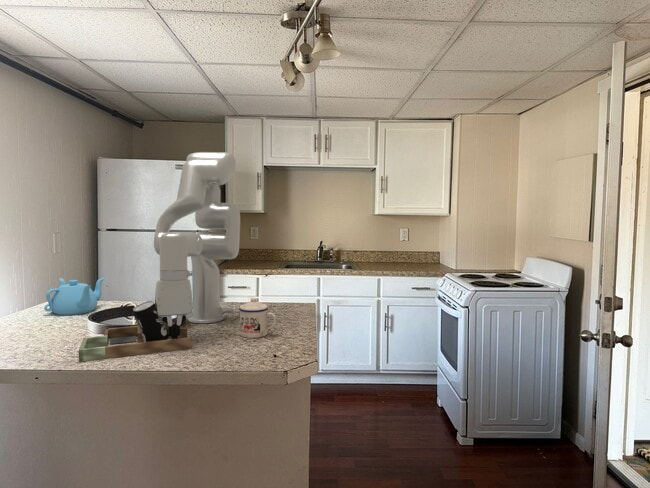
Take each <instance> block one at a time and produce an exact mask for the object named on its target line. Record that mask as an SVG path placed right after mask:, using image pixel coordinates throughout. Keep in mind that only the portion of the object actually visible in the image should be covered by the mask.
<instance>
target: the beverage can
mask: <svg viewBox="0 0 650 488" xmlns="http://www.w3.org/2000/svg"><path fill="white" fill-rule="evenodd" d="M132 310H133V318H134V319H135V323H136V326H138V327H139V330H140V332H141V335H142V337H143V339H144V342H151V341H160V340H169V339H168V337H169V334H168V332H167V329H166V327H165V324H164V323H165V322H164V321H163V320H162V317H161V316H159V315H158V312H157V308H156V304H155V300H148V301H145V302H142V303H139V304H138V305H135V306H134V307H133V309H132Z"/></svg>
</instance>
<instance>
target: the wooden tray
mask: <svg viewBox="0 0 650 488" xmlns="http://www.w3.org/2000/svg"><path fill="white" fill-rule="evenodd" d="M175 322H176V321H174V322H173V325H174V324H175ZM164 324H165V327H166V329H167V332H168V334H169V326H168V325H167V324H166V323H165V322H164ZM192 348H193V338H192V336H190V337H189V336H188V327H180V336H178V339H171V336H170V337H168V340H160V341H151V342H144V339H143V337H142V335H141V332H140V330H139V327H138V325H133V326H122V327H112V328H104V332H103V335H99V336H90V337H89V336H88V337H83V338H82V340H81V344H80V347H79V349H78V363H79V362H80V363H81V362H89V361H97V360H105V359H106V360H107V359H115V358H121V357H131V356H132V357H133V356H139V355H148V354H155V353H164V352H172V351H173V352H174V351H180V350H189V349H192Z"/></svg>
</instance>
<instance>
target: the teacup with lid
mask: <svg viewBox="0 0 650 488" xmlns="http://www.w3.org/2000/svg"><path fill="white" fill-rule="evenodd" d="M238 309H239V334H240V336H241V337H243V338H247V339H257V338H262V337H265V336H266V335H268V329H272V328H273V327H274V326H275V325H276V323H277V316H276V315H275V313H273V312H268V310H269V306H268V305H267V304H266V303H262V302H261V301H258V299H257V298H256V297H251V298H250V301H247V302H246V303H244V304H241V305H240V306H239V308H238ZM268 316H271V317H272V319H273V322H272V324H271V325H268Z"/></svg>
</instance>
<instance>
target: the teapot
mask: <svg viewBox="0 0 650 488" xmlns="http://www.w3.org/2000/svg"><path fill="white" fill-rule="evenodd" d="M105 278H106V277H101V278H99V279H97V281H96V283H95V287H94V290H92V288H91V286H92V285H89V284H87V283H79V280H78V279H71V280H68V283H67V284H66V281H65V279H64V278H63V277H59V278H58V280H59V287H56V288H55V287H54V288H51V289H48V290H47V292H46V294H45V298H46V301H47V304H45V306H44V308H43V309H44V311H45V312H52V313H53V314H55V315H57V316H75V315H77V316H78V315H82V314H86V313H87V314H88V313H91V312H93V311H94V310H95V309H96V308H97V306H98V301H99V300H100V298H101V296H102V282H103V281H104V280H105ZM53 292H54V293H53ZM51 293H53V295H52V297H51ZM48 307H49V308H48Z"/></svg>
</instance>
